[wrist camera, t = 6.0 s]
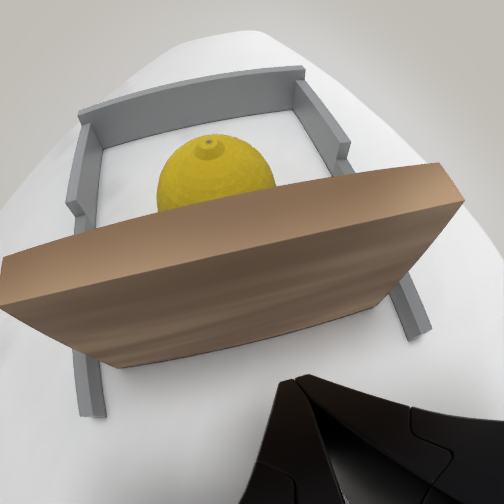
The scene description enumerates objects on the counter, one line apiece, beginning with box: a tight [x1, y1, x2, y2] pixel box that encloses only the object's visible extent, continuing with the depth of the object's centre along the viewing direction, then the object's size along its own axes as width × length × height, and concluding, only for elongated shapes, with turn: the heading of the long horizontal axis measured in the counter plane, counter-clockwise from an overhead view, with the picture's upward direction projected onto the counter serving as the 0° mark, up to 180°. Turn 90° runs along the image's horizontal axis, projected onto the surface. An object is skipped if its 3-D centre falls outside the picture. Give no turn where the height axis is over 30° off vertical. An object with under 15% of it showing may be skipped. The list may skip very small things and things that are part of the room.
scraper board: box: [0, 163, 465, 368], centre depth 11 cm, size 2×14×9 cm, turn 104°
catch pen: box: [65, 65, 432, 418], centre depth 17 cm, size 21×18×4 cm
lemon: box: [157, 134, 276, 212], centre depth 14 cm, size 6×6×8 cm
